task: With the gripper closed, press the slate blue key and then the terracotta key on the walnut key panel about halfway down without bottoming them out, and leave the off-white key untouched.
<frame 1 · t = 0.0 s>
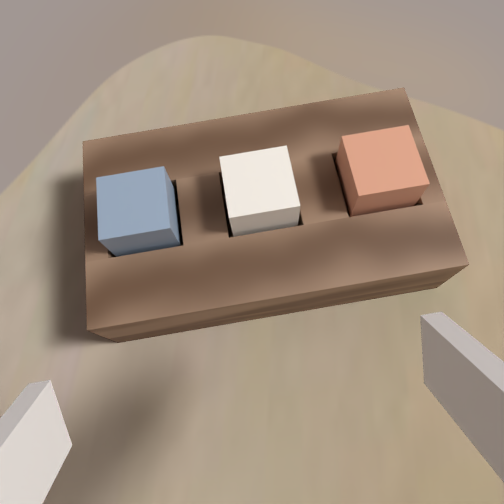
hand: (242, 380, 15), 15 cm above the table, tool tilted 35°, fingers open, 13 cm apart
white key: (259, 192, 27), point 6 cm above the table, slide at 0.0 cm
slate blue key: (139, 212, 27), point 6 cm above the table, slide at 0.0 cm
terracotta key: (378, 171, 27), point 6 cm above the table, slide at 0.0 cm
key panel: (262, 229, 33), on the table
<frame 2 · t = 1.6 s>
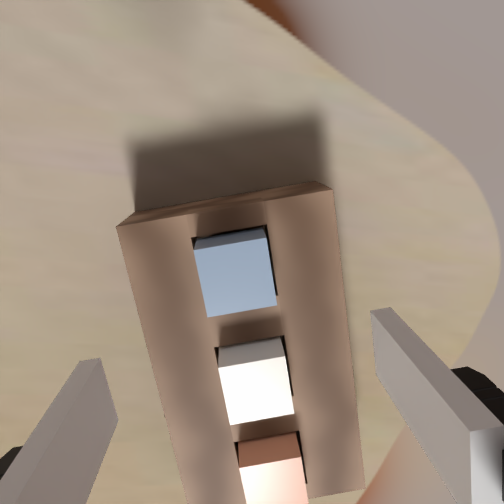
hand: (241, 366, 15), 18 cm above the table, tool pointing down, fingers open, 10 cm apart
white key: (255, 378, 29), point 6 cm above the table, slide at 0.0 cm
slate blue key: (235, 270, 27), point 6 cm above the table, slide at 0.0 cm
terracotta key: (272, 471, 31), point 6 cm above the table, slide at 0.0 cm
key panel: (250, 336, 35), on the table
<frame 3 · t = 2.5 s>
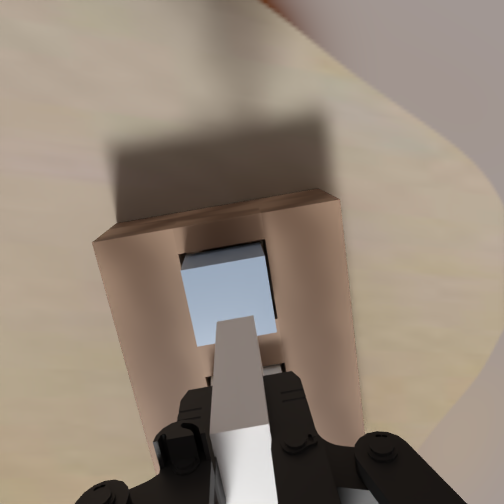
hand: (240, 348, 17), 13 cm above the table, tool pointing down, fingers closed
white key: (252, 412, 25), point 6 cm above the table, slide at 0.0 cm
slate blue key: (229, 292, 23), point 6 cm above the table, slide at 0.0 cm
key panel: (246, 359, 32), on the table
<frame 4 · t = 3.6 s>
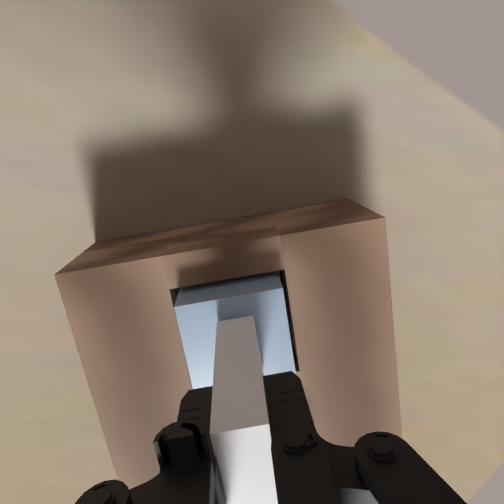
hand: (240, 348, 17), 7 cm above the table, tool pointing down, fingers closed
slate blue key: (236, 330, 18), point 5 cm above the table, slide at 0.9 cm, touching gripper
key panel: (256, 407, 26), on the table
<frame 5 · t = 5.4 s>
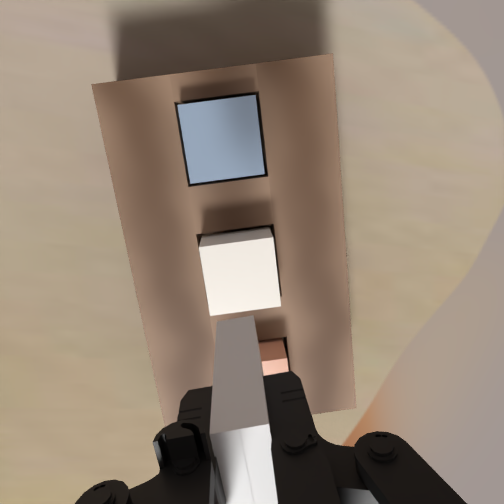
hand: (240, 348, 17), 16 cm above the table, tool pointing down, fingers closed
white key: (240, 269, 26), point 6 cm above the table, slide at 0.0 cm
slate blue key: (222, 140, 25), point 5 cm above the table, slide at 1.1 cm
terracotta key: (255, 379, 28), point 6 cm above the table, slide at 0.0 cm
key panel: (238, 245, 32), on the table
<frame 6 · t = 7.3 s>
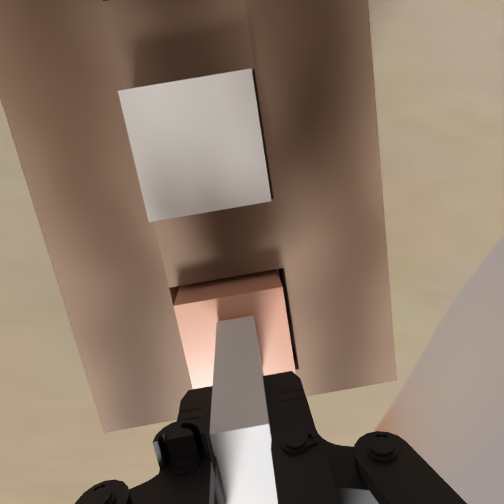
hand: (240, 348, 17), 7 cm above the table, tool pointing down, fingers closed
white key: (200, 147, 15), point 6 cm above the table, slide at 0.0 cm
terracotta key: (236, 329, 18), point 5 cm above the table, slide at 0.9 cm, touching gripper
key panel: (207, 145, 22), on the table
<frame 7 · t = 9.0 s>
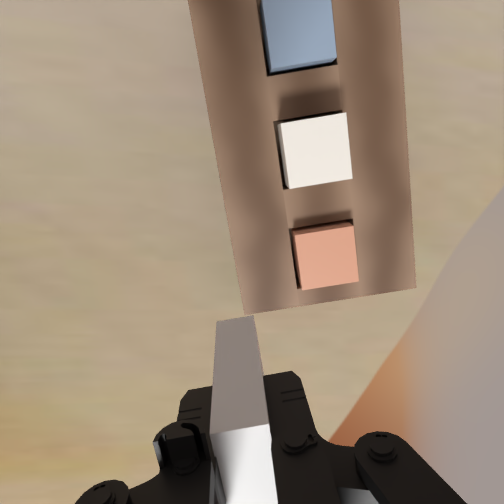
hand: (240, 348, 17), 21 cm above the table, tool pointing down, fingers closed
white key: (313, 151, 30), point 6 cm above the table, slide at 0.0 cm
slate blue key: (297, 32, 28), point 5 cm above the table, slide at 1.1 cm
terracotta key: (323, 253, 33), point 5 cm above the table, slide at 1.1 cm
key panel: (301, 149, 36), on the table
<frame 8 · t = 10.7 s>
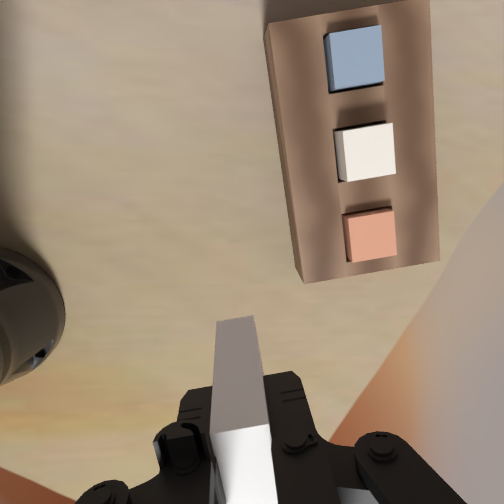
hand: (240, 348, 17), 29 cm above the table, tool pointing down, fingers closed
white key: (364, 152, 38), point 6 cm above the table, slide at 0.0 cm
slate blue key: (352, 60, 37), point 5 cm above the table, slide at 1.1 cm
terracotta key: (367, 233, 41), point 5 cm above the table, slide at 1.1 cm
key panel: (345, 150, 44), on the table
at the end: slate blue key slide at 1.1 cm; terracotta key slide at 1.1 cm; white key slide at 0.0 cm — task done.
